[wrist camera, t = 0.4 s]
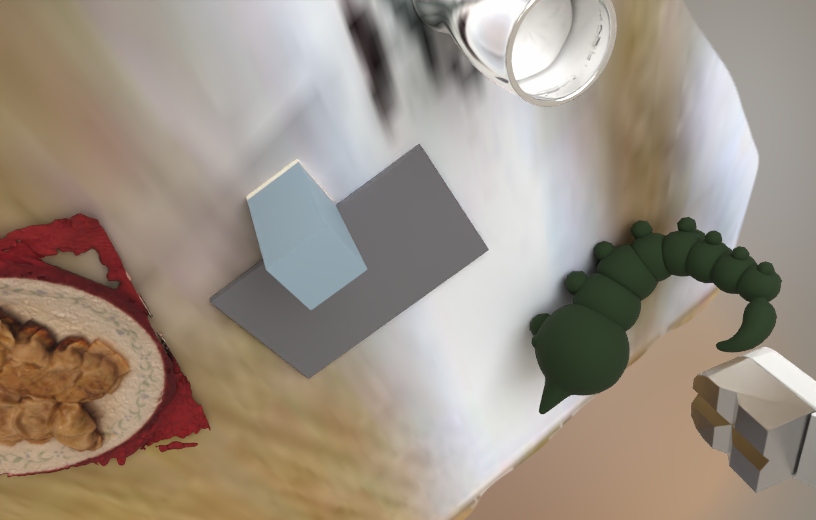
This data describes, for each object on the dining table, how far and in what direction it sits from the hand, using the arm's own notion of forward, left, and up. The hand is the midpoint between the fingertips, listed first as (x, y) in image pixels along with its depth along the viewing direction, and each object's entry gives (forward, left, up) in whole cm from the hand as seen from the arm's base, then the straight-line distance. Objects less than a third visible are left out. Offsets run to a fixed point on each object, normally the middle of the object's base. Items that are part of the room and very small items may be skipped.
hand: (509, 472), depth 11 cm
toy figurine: (+43, +12, -37) cm, 57 cm away
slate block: (+13, -6, -36) cm, 39 cm away
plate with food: (+11, -33, -37) cm, 51 cm away
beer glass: (+7, +13, -36) cm, 39 cm away
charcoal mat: (+23, -6, -36) cm, 43 cm away
